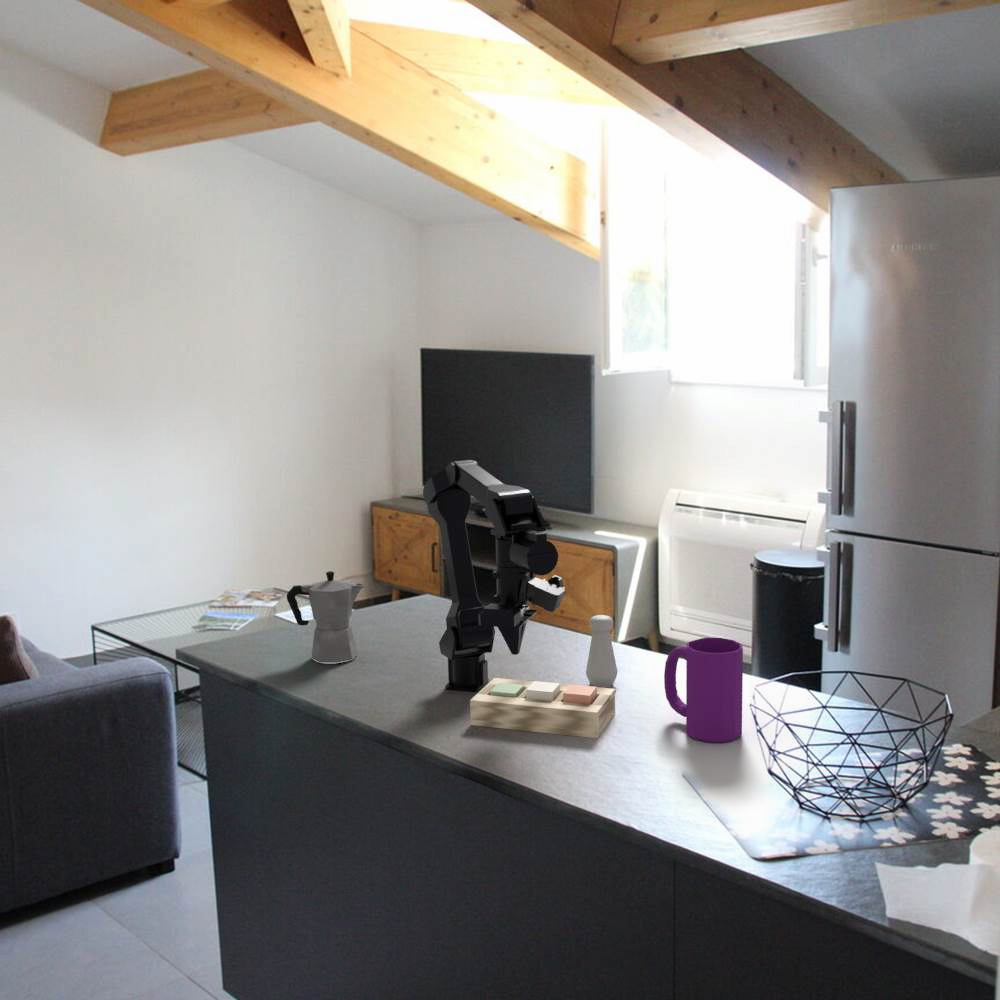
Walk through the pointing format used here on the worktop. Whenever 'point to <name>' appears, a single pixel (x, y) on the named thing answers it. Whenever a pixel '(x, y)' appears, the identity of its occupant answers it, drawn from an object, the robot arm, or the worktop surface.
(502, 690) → the sage key
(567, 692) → the terracotta key
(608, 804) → the worktop surface
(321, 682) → the worktop surface
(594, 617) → the salt shaker
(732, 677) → the mug
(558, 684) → the middle key
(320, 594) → the coffeepot
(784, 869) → the worktop surface
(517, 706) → the keypad
